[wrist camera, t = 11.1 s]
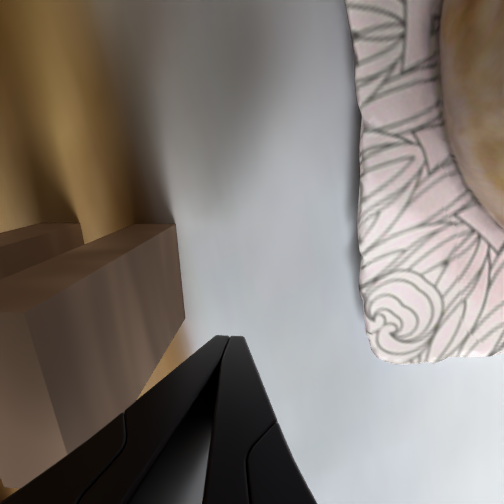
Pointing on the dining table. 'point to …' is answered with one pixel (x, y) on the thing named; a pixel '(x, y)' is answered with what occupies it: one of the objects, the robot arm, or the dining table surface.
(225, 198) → the dining table surface
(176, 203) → the dining table surface
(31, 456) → the domino
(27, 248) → the domino
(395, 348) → the cookie jar
